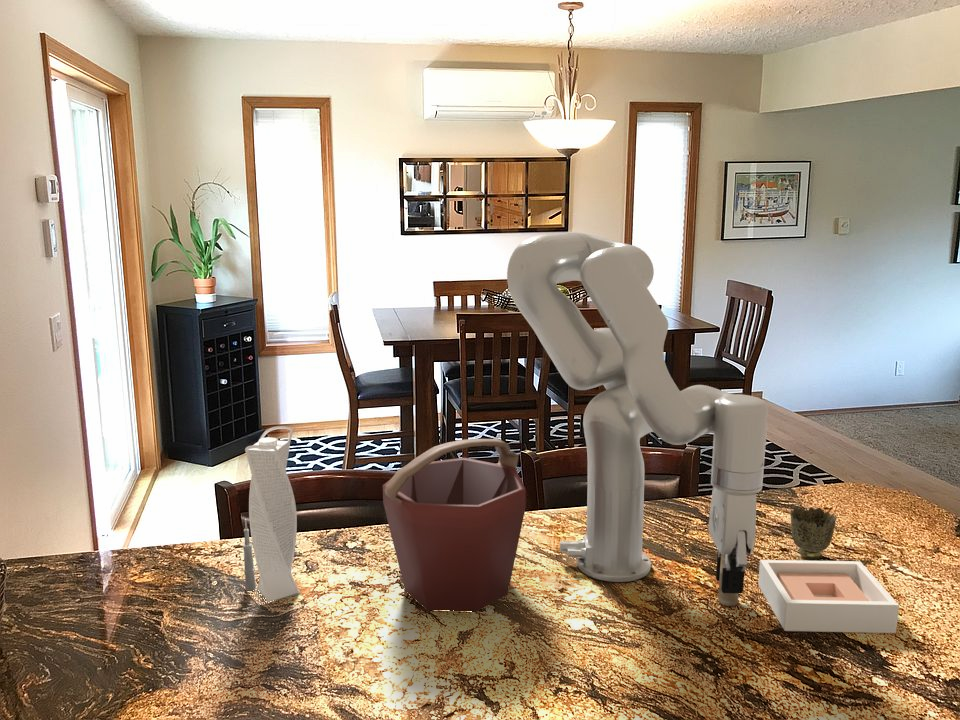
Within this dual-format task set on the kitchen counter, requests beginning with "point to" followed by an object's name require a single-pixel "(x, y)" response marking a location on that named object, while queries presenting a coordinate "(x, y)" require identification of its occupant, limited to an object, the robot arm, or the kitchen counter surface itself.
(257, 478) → the skyscraper
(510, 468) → the bucket
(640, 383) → the robot arm
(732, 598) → the birch peg
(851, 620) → the open-top box
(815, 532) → the cup
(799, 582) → the bored plate
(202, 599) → the kitchen counter surface
